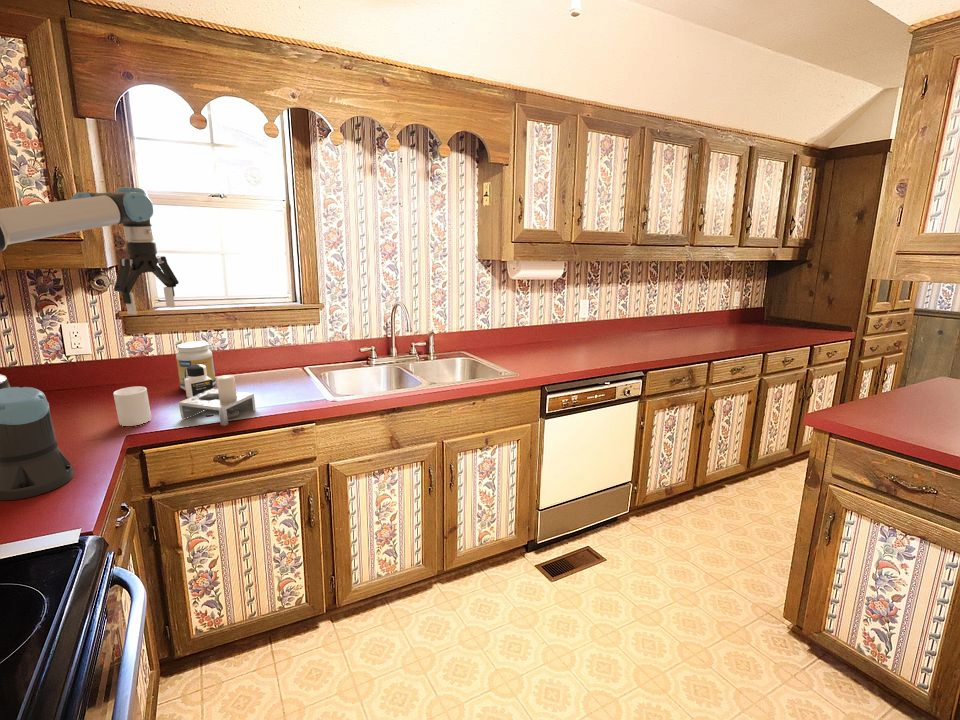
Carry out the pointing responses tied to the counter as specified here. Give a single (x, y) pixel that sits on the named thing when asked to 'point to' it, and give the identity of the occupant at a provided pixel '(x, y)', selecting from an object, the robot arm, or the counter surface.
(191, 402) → the white table-shaped stand
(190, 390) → the medicine bottle
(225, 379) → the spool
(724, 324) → the counter surface
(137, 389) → the mug
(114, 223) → the robot arm
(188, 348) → the supplement tub
